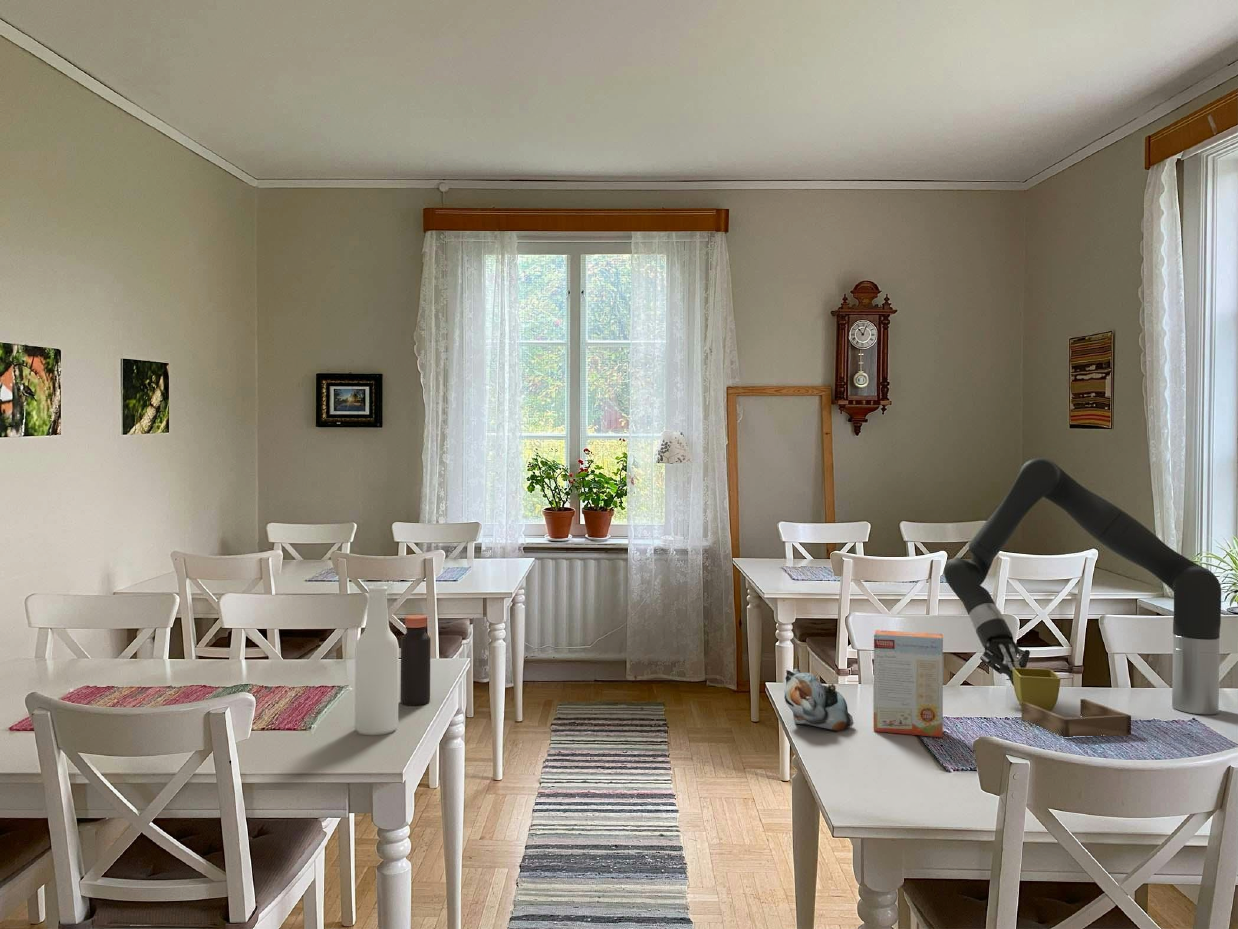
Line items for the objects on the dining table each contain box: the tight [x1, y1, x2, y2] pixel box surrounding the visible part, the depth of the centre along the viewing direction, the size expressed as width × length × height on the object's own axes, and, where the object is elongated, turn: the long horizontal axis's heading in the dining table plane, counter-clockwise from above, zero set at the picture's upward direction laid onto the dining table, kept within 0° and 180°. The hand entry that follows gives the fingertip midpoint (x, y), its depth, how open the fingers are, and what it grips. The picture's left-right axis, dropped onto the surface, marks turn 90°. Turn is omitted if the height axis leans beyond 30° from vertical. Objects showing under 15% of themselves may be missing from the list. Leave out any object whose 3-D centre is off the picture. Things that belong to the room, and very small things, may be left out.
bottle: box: [399, 614, 432, 706], centre depth 216 cm, size 7×7×20 cm
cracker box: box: [872, 629, 944, 738], centre depth 196 cm, size 14×6×21 cm, turn 71°
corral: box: [1021, 698, 1132, 737], centre depth 200 cm, size 14×16×4 cm
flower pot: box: [1012, 667, 1061, 712], centre depth 213 cm, size 9×9×9 cm
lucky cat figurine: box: [783, 668, 855, 733], centre depth 200 cm, size 15×12×14 cm
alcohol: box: [354, 585, 400, 736], centre depth 193 cm, size 9×9×30 cm
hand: (1021, 687), depth 218 cm, fingers closed
